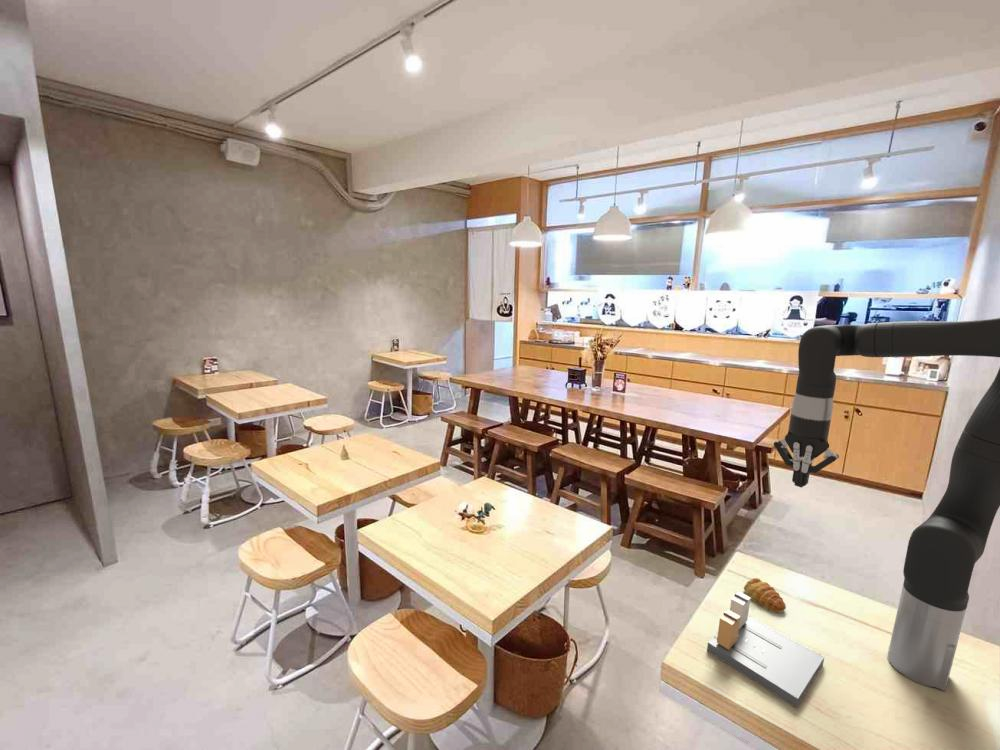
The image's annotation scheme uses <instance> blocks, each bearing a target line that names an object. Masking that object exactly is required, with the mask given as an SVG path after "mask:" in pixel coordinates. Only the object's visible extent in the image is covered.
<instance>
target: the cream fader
mask: <svg viewBox="0 0 1000 750" xmlns="http://www.w3.org/2000/svg"><path fill="white" fill-rule="evenodd" d="M750 606H751V597H749V596H747V594H746V593H745V594H744V593H743V592H740V591H738V592H735V593H734V596H733V597H731V600H730V606H729V610H730V611H732V612H734V613H736V614H737V615H739V616H741V617H740V624H739V629H740V628H741V627H742V626H743V625H744V624H745V623H746V622H747V619H748V616H749V613H750Z"/></svg>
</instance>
